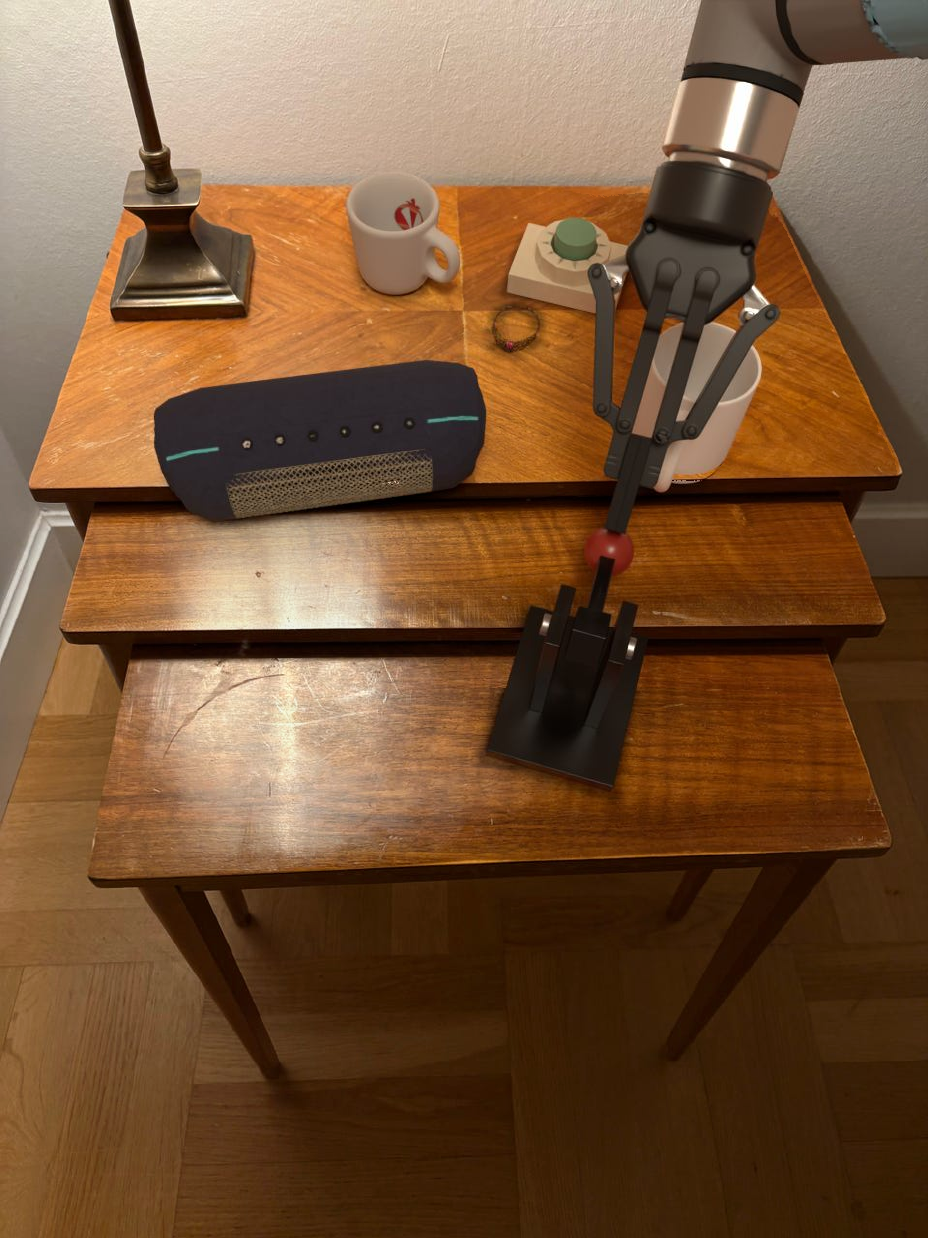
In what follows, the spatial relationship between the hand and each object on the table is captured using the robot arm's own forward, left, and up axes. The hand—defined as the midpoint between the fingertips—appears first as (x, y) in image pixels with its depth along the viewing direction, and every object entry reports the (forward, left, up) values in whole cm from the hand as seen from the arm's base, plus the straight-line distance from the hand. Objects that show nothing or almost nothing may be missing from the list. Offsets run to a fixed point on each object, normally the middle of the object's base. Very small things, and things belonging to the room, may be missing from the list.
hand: (615, 527), depth 69 cm
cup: (+24, -26, -8) cm, 36 cm away
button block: (+10, -31, -7) cm, 33 cm away
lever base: (0, +10, -7) cm, 13 cm away
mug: (-3, -13, -8) cm, 15 cm away
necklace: (+13, -23, -8) cm, 27 cm away
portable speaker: (+23, -3, -8) cm, 24 cm away
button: (+10, -31, -4) cm, 32 cm away
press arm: (0, +6, -2) cm, 6 cm away
